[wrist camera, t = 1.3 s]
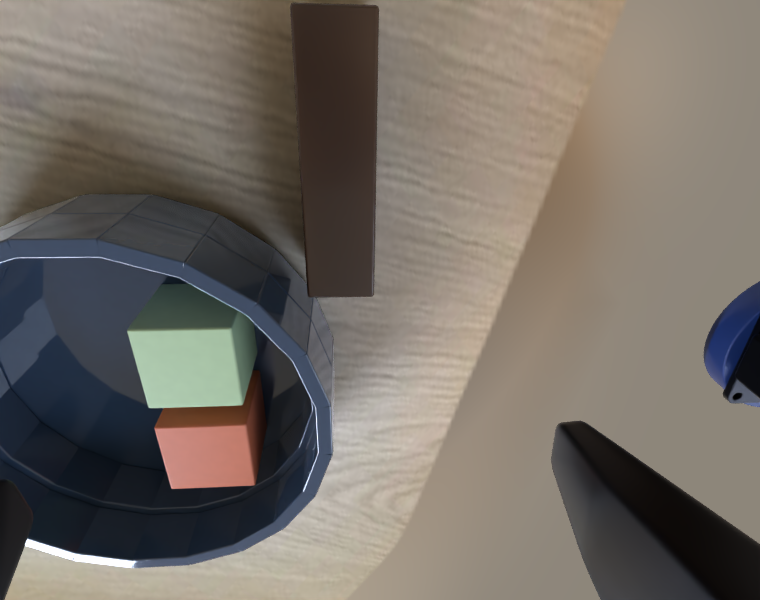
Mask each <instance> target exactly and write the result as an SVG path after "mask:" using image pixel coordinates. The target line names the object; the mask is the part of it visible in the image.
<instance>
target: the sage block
mask: <svg viewBox="0 0 760 600" xmlns="http://www.w3.org/2000/svg"><path fill="white" fill-rule="evenodd" d="M127 333H128V336H129V340H130V343H131V347H132V350H133V354H134V358H135V361H136V365H137V368H138V372H139V375H140V379H141V382H142V386H143V390H144V393H145V397H146V400H147V404H148V407H149V408H175V407H206V406H238V405H243V403H244V400H245V396H246V392H247V389H248V385H249V381H250V378H251V374H252V370H253V367H254V363H255V360H256V356H257V345H256V337H255V329H254V323H253V322H252V321H251V320H250V319H249V318H248V317H247V316H246V315H245V314H243V313H241V312H239V311H238V310H236V309H234V308H232V307H230V306H229V305H227V304H225V303H223V302H221V301H219V300H218V299H216V298H214V297H212V296H210V295H209V294H207V293H205V292H203V291H201V290H200V289H198V288H196V287H194V286H192V285H190V284H162V285H160V287H159V288H158V289H157V291H156V292H155V293H154V295H153V296H152V297H151V299H150V300H149V301H148V303H147V304H146V305H145V307H144V308H143V309H142V311H141V312H140V313H139V315H138V316H137V317H136V319H135V320H134V321H133V323H132V324H131V325H130V327H129V328H128V329H127Z"/></svg>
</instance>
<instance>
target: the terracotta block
mask: <svg viewBox="0 0 760 600" xmlns="http://www.w3.org/2000/svg"><path fill="white" fill-rule="evenodd" d="M154 429H155V432H156V436H157V439H158V443H159V447H160V450H161V454H162V457H163V461H164V464H165V468H166V471H167V475H168V479H169V482H170V486H171V488H172V489H184V488H207V487H229V486H252V485H255V484H256V480H257V475H258V470H259V465H260V460H261V455H262V450H263V444H264V439H265V434H266V429H267V424H266V416H265V408H264V400H263V392H262V384H261V376H260V371H259V370H252V374H251V378H250V381H249V385H248V389H247V392H246V396H245V400H244V403H243V405H238V406H206V407H175V408H163V410H162V412H161V415H160V417H159V419H158V421H157V423H156V425H155V427H154Z"/></svg>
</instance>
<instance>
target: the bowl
mask: <svg viewBox="0 0 760 600" xmlns="http://www.w3.org/2000/svg"><path fill="white" fill-rule="evenodd" d="M162 284H190V285H192V286H194V287H196V288H198V289H200V290H201V291H203V292H205V293H207V294H209V295H210V296H212V297H214V298H216V299H218V300H219V301H221V302H223V303H225V304H227V305H229V306H230V307H232V308H234V309H236V310H238V311H239V312H241V313H243V314H245V315H246V316H247V317H248V318H249V319H250V320H251V321H252V322H253V323H254V329H255V337H256V345H257V356H256V360H255V363H254V367H253V370H259V371H260V376H261V384H262V392H263V400H264V408H265V416H266V424H267V429H266V434H265V439H264V444H263V450H262V455H261V460H260V465H259V470H258V475H257V480H256V484H255V485H252V486H229V487H207V488H184V489H172V488H171V486H170V482H169V479H168V475H167V471H166V468H165V464H164V461H163V457H162V454H161V450H160V447H159V443H158V439H157V436H156V432H155V429H154V427H155V425H156V423H157V421H158V419H159V417H160V415H161V412H162V410H163V408H149V407H148V404H147V400H146V397H145V393H144V390H143V386H142V382H141V379H140V375H139V372H138V368H137V365H136V361H135V358H134V354H133V350H132V347H131V343H130V340H129V336H128V333H127V329H128V328H129V327H130V325H131V324H132V323H133V321H134V320H135V319H136V317H137V316H138V315H139V313H140V312H141V311H142V309H143V308H144V307H145V305H146V304H147V303H148V301H149V300H150V299H151V297H152V296H153V295H154V293H155V292H156V291H157V289H158V288H159V287H160V285H162ZM334 391H335V373H334V341H333V336H332V334H331V331H330V329H329V327H328V324H327V322H326V320H325V317H324V315H323V313H322V310H321V308H320V305H319V303H318V301H317V298H316V297H312V298H310V297H308V294H307V284H306V283H305V281H304V280H303V279H302V278H301V277H300V276H299V275H298V274H297V272H296V271H295V270H294V269H293V268H292V267H291V266H290V265H289V263H288V262H287V261H286V260H285V259H284V258H283V257H282V256H281V254H280V253H279V252H278V251H277V250H276V249H274V248H273V247H272V246H270V245H268V244H267V243H265V242H264V241H262V240H260V239H259V238H257V237H256V236H254V235H252V234H251V233H249V232H247V231H246V230H244V229H243V228H241V227H239V226H238V225H236V224H235V223H233V222H231V221H230V220H228V219H227V218H225V217H223V216H222V215H219V214H218V213H215V212H212V211H208V210H205V209H201V208H198V207H194V206H191V205H188V204H184V203H181V202H177V201H174V200H170V199H167V198H164V197H160V196H157V195H151V194H85V195H80V196H77V197H74V198H71V199H68V200H65V201H62V202H59V203H57V204H54V205H51V206H48V207H45V208H42V209H39V210H36V211H33V212H30V213H27V214H24V215H23V216H21V217H19V218H17V219H15V220H13V221H11V222H10V223H8V224H6V225H4V226H2V227H0V480H1V479H8V480H10V481H12V482H13V483H14V484H15V485H16V487H17V488H18V490H19V491H20V493H21V494H22V496H23V497H24V499H25V500H26V502H27V504H28V505H29V507H30V508H31V510H32V513H33V523H32V527H31V530H30V533H29V536H28V538H27V541H26V544H25V546H27V547H30V548H34V549H37V550H40V551H43V552H47V553H50V554H53V555H56V556H60V557H63V558H66V559H69V560H74V561H79V562H87V563H95V564H103V565H111V566H119V567H127V568H147V567H165V566H183V565H190V564H191V565H192V564H196V563H200V562H204V561H207V560H211V559H215V558H219V557H223V556H226V555H230V554H234V553H238V552H241V551H244V550H246V549H248V548H249V547H251V546H253V545H255V544H257V543H259V542H260V541H262V540H264V539H266V538H268V537H270V536H271V535H273V534H275V533H277V532H279V531H281V530H283V529H284V528H285V527H286V526H287V525H288V524H289V523H290V522H291V521H292V520H293V519H294V518H295V517H296V516H297V515H298V514H299V513H300V512H301V511H302V510H303V509H304V508H305V506H306V505H307V504H308V503H309V502H310V501H311V500H312V499H313V498H314V497H315V496H316V494H317V492H318V489H319V487H320V485H321V482H322V480H323V477H324V475H325V472H326V470H327V467H328V465H329V462H330V460H331V458H332V455H333V440H334Z"/></svg>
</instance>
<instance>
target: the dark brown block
mask: <svg viewBox="0 0 760 600" xmlns="http://www.w3.org/2000/svg"><path fill="white" fill-rule="evenodd" d="M290 12H291V28H292V45H293V61H294V78H295V95H296V111H297V128H298V145H299V161H300V178H301V194H302V211H303V228H304V244H305V261H306V277H307V294H308V297H310V298H312V297H372V296H373V295H374V270H375V210H376V151H377V92H378V33H379V8H378V6H376V5H348V4H315V3H292V4H291V6H290Z"/></svg>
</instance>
